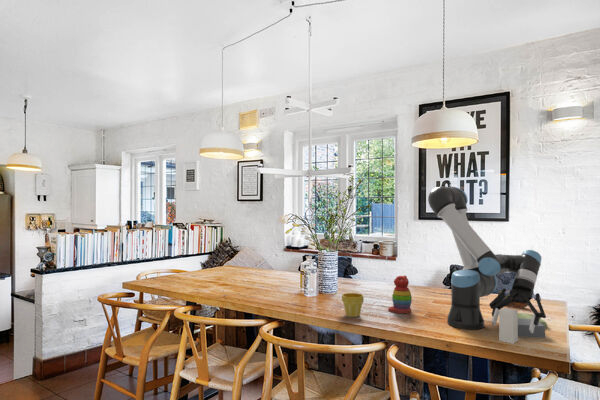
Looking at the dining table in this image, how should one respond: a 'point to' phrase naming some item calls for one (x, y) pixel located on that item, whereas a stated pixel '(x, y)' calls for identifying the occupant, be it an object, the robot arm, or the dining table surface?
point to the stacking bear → (401, 296)
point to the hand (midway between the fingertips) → (511, 327)
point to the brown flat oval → (518, 305)
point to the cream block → (508, 325)
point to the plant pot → (352, 303)
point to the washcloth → (529, 316)
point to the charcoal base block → (525, 332)
